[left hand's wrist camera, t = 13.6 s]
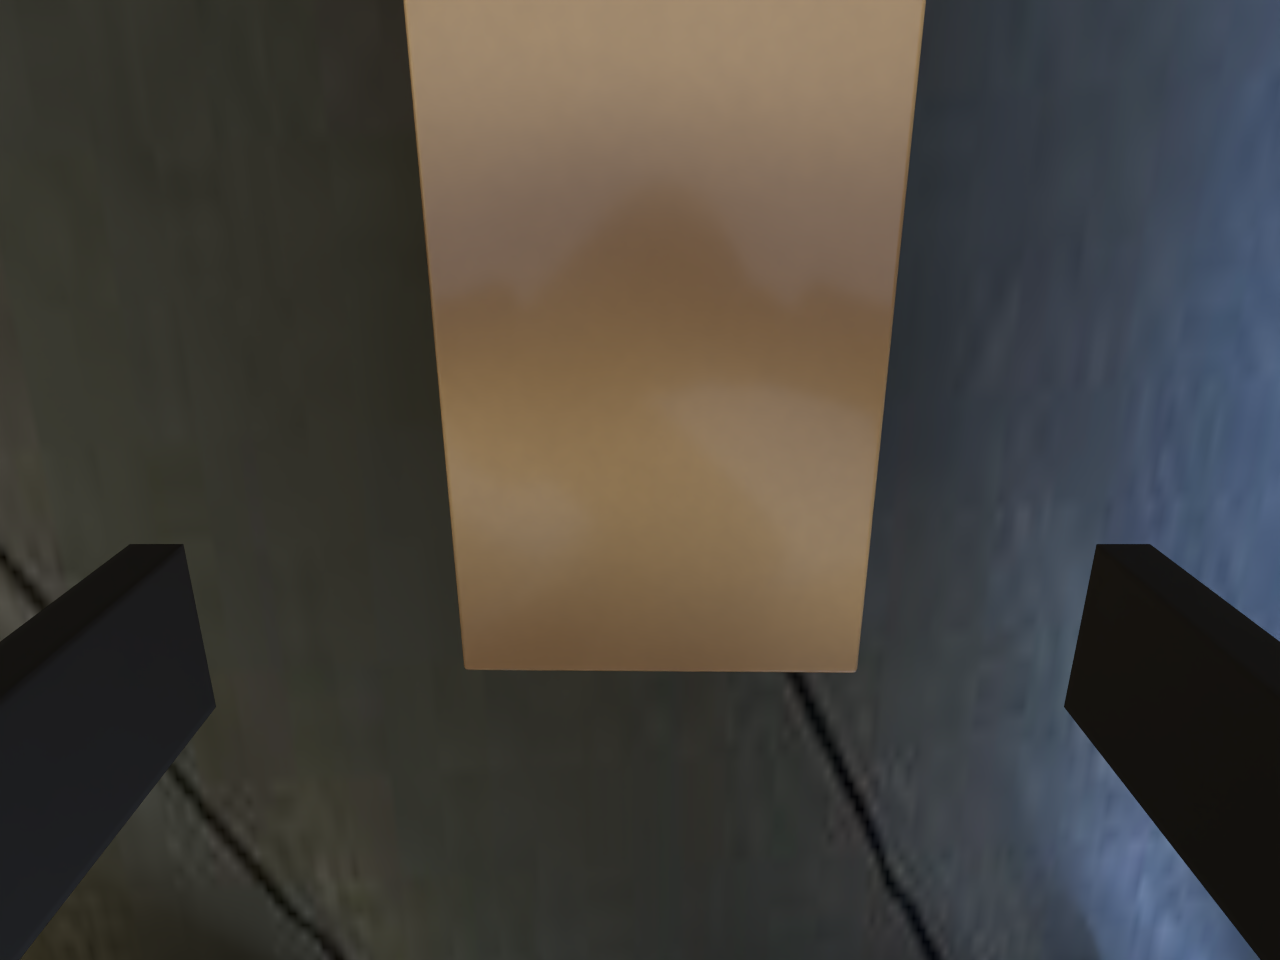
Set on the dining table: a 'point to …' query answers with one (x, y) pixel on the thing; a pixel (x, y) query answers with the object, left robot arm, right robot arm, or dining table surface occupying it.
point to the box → (662, 319)
